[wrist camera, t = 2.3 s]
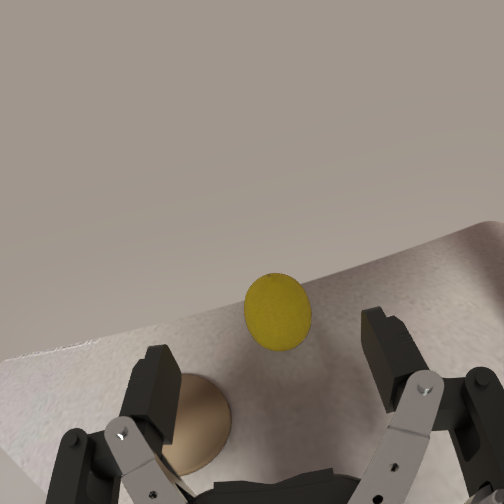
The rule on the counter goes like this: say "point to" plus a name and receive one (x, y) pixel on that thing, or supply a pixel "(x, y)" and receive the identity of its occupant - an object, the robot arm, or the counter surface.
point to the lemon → (277, 312)
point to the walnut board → (198, 425)
